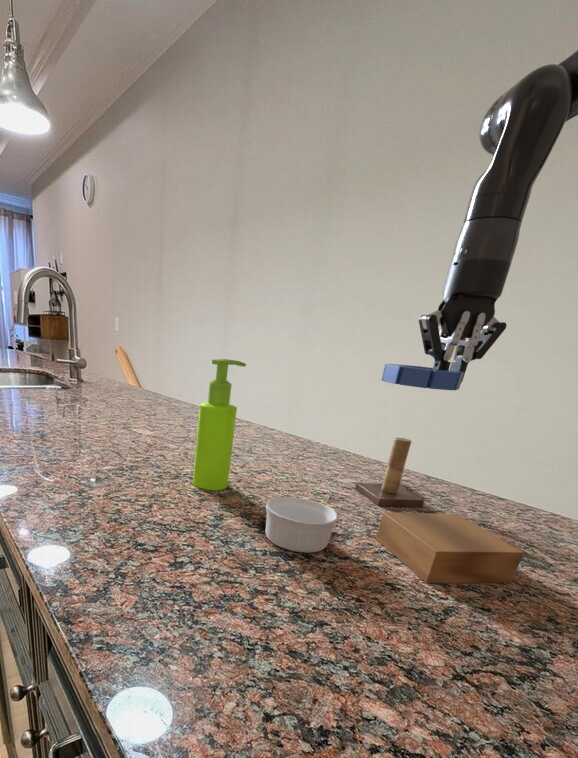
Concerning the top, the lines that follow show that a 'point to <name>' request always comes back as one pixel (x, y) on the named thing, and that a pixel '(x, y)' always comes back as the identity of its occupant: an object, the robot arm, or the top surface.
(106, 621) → the top surface
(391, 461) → the post
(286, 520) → the ramekin
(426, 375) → the ring
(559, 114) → the robot arm
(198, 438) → the soap dispenser
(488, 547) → the platform
